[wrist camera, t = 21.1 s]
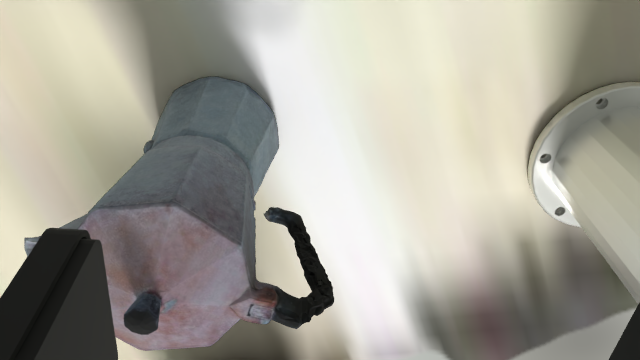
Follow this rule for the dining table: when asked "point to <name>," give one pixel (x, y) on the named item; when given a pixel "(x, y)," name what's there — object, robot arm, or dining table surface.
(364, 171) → the dining table surface
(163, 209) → the moka pot
